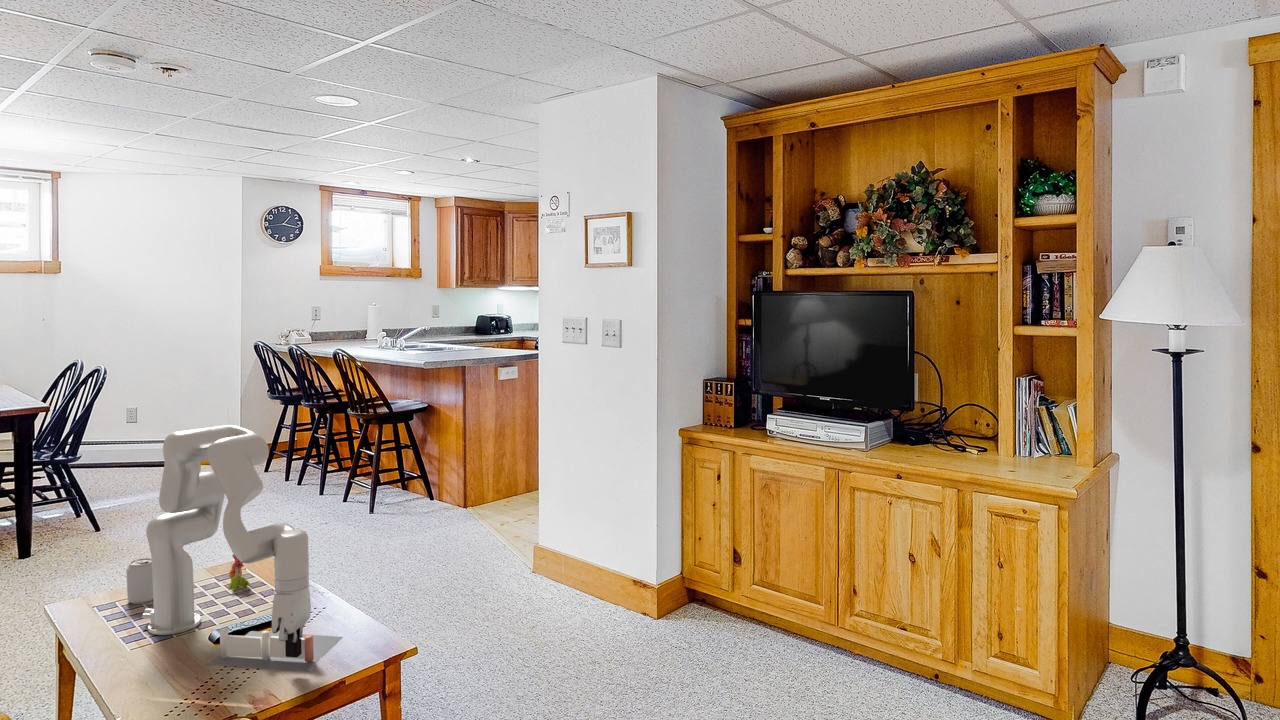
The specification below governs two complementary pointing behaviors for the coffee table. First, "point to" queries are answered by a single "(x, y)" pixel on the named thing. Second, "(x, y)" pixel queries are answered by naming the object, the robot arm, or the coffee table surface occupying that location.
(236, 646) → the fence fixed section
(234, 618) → the coffee table surface
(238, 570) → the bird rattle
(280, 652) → the fence swing section
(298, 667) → the card
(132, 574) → the can
